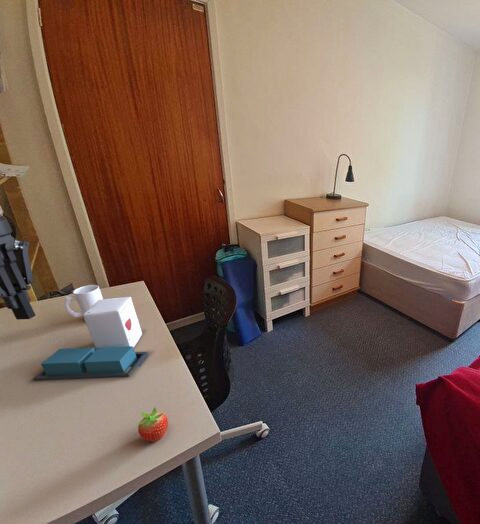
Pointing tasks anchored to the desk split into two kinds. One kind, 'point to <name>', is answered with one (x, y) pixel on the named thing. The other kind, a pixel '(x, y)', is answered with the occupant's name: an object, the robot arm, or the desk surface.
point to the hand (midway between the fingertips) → (26, 317)
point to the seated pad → (67, 361)
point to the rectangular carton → (113, 323)
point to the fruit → (153, 426)
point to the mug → (84, 299)
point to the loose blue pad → (111, 360)
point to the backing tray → (140, 359)
